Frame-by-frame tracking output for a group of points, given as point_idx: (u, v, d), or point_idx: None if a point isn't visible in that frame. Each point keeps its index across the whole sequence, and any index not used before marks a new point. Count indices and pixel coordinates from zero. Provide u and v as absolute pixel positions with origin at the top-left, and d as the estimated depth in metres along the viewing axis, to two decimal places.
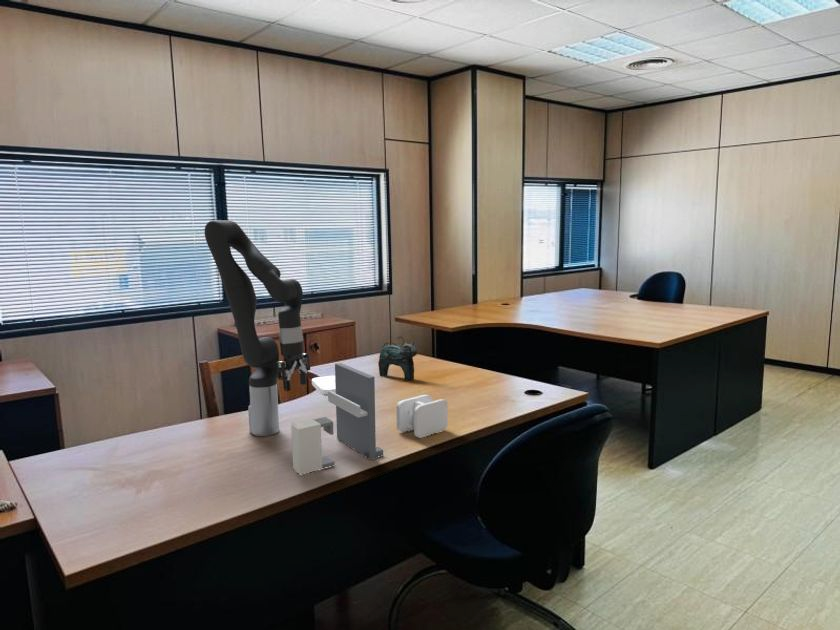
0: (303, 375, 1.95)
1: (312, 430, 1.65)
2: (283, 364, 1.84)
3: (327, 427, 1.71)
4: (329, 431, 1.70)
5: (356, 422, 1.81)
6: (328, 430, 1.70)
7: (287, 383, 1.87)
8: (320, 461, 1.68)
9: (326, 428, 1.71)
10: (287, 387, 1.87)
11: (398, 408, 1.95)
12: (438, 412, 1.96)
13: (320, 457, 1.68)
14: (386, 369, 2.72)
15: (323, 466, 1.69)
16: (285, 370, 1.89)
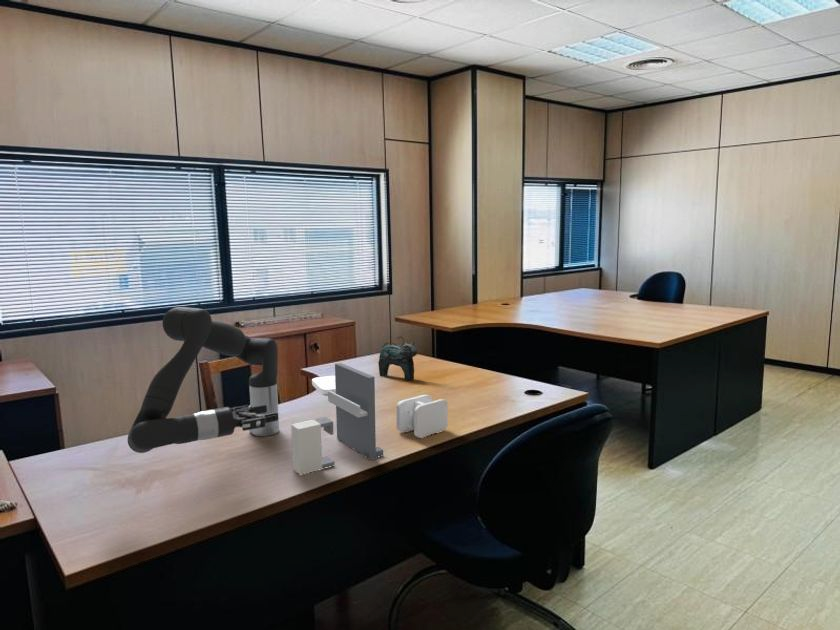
0: None
1: (312, 430, 1.65)
2: None
3: (327, 427, 1.71)
4: (329, 431, 1.70)
5: (356, 422, 1.81)
6: (328, 430, 1.70)
7: None
8: (320, 461, 1.68)
9: (326, 428, 1.71)
10: None
11: (398, 408, 1.95)
12: (438, 412, 1.96)
13: (320, 457, 1.68)
14: (386, 369, 2.72)
15: (323, 466, 1.69)
16: None
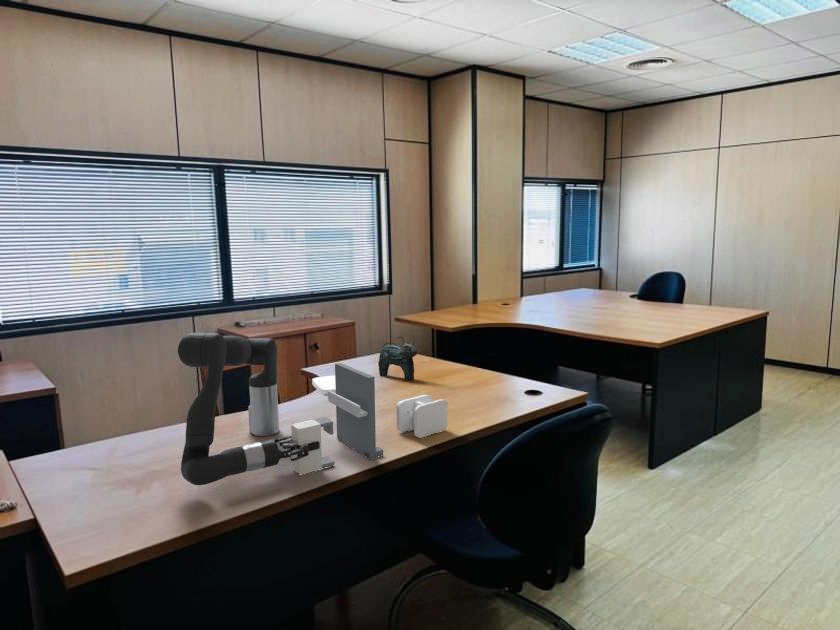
0: None
1: (312, 430, 1.65)
2: None
3: (327, 427, 1.71)
4: (329, 431, 1.70)
5: (356, 422, 1.81)
6: (328, 430, 1.70)
7: None
8: (320, 461, 1.68)
9: (326, 428, 1.71)
10: None
11: (398, 408, 1.95)
12: (438, 412, 1.96)
13: (320, 457, 1.68)
14: (386, 369, 2.72)
15: (323, 466, 1.69)
16: None
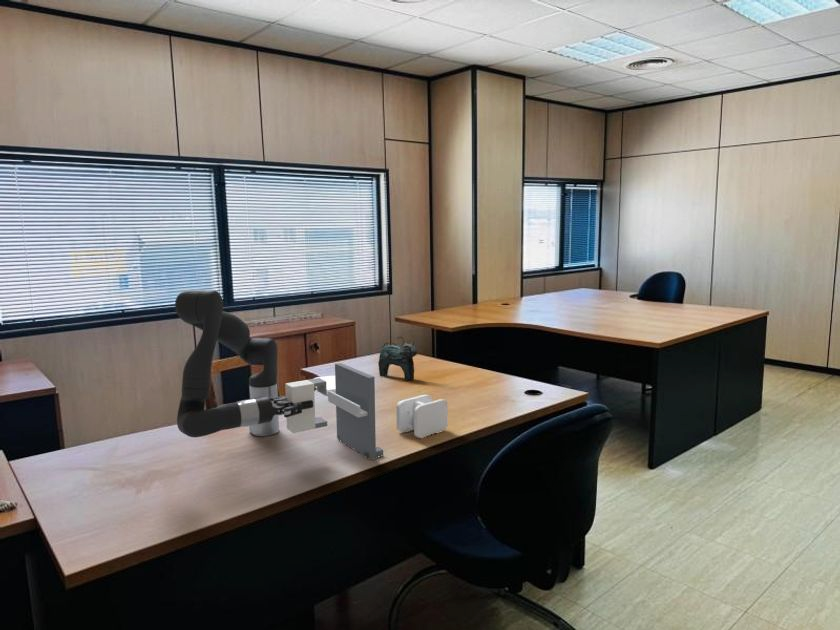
0: None
1: (306, 389, 1.69)
2: None
3: (320, 387, 1.74)
4: (322, 391, 1.73)
5: (356, 422, 1.81)
6: (322, 390, 1.74)
7: None
8: (313, 420, 1.72)
9: (320, 388, 1.75)
10: None
11: (398, 408, 1.95)
12: (438, 412, 1.96)
13: (313, 416, 1.72)
14: (386, 369, 2.72)
15: (316, 425, 1.73)
16: (283, 399, 1.70)
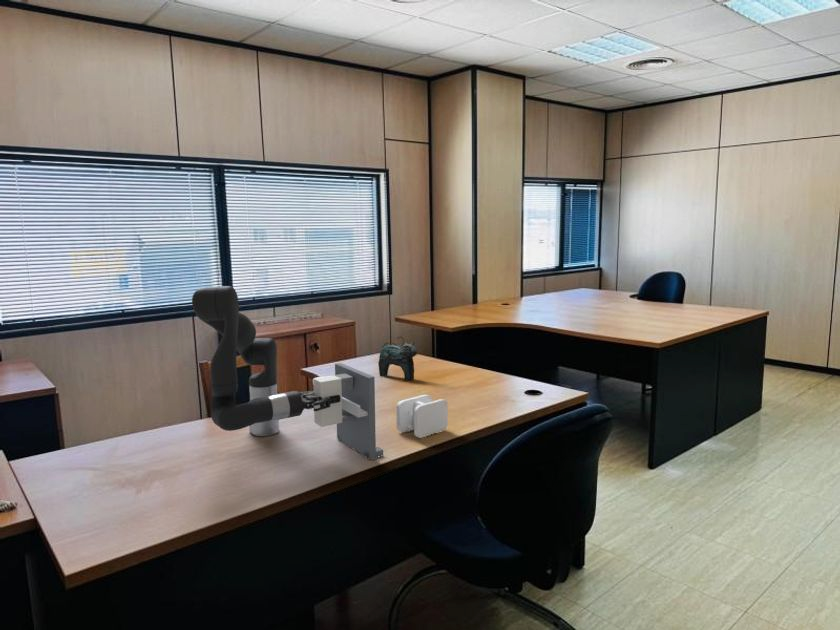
0: None
1: (334, 384, 1.74)
2: None
3: (347, 382, 1.79)
4: (349, 386, 1.79)
5: (356, 422, 1.81)
6: (348, 385, 1.79)
7: None
8: (340, 414, 1.77)
9: (346, 383, 1.80)
10: None
11: (398, 408, 1.96)
12: (438, 412, 1.96)
13: (340, 410, 1.77)
14: (386, 369, 2.72)
15: (343, 419, 1.78)
16: None
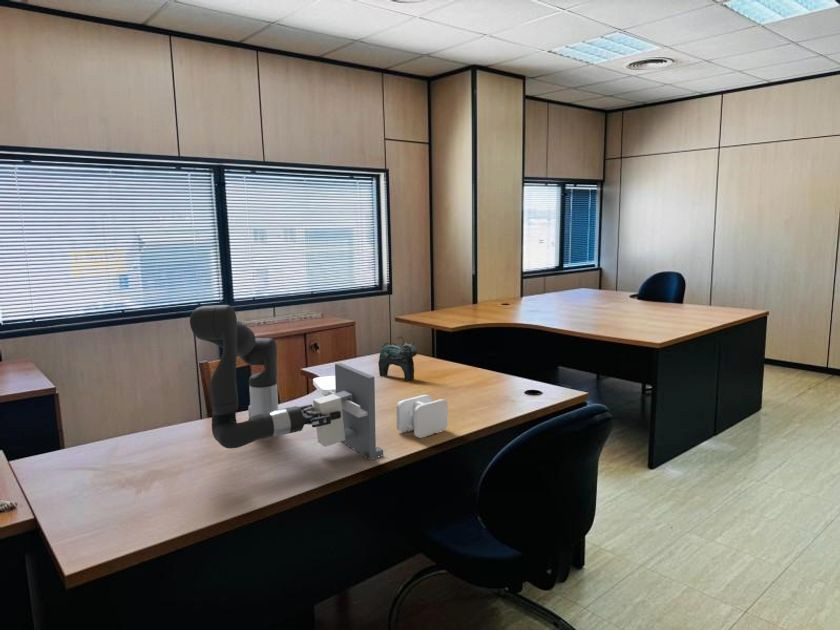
0: None
1: (333, 403, 1.75)
2: None
3: None
4: None
5: (356, 422, 1.81)
6: None
7: None
8: (343, 432, 1.78)
9: None
10: None
11: (398, 408, 1.96)
12: (438, 412, 1.96)
13: (342, 428, 1.78)
14: (386, 369, 2.72)
15: (346, 436, 1.79)
16: None
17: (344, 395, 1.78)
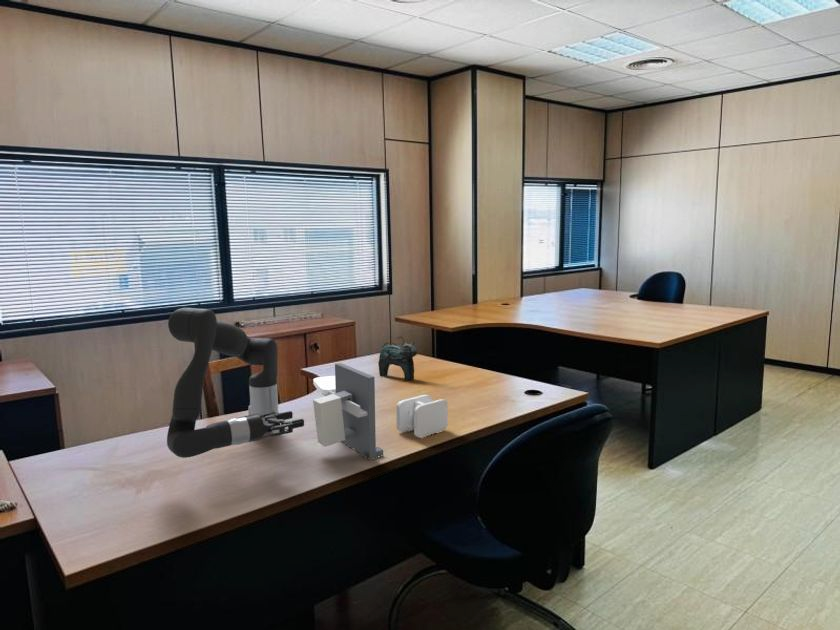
0: None
1: (333, 403, 1.75)
2: None
3: None
4: None
5: (356, 422, 1.81)
6: None
7: None
8: (343, 432, 1.78)
9: None
10: None
11: (398, 408, 1.95)
12: (438, 412, 1.96)
13: (342, 428, 1.78)
14: (386, 369, 2.72)
15: (346, 436, 1.79)
16: None
17: (344, 395, 1.78)
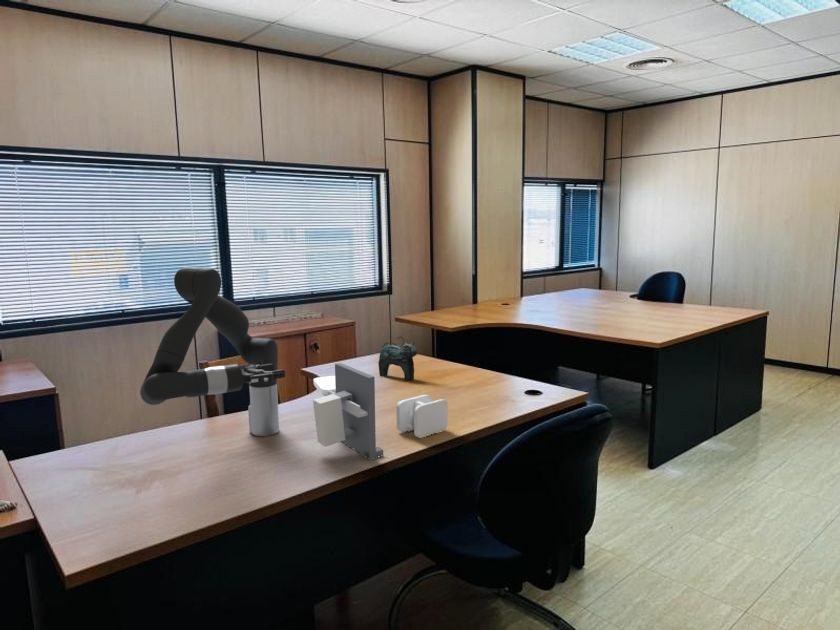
0: None
1: (333, 403, 1.75)
2: None
3: None
4: None
5: (356, 422, 1.81)
6: None
7: None
8: (343, 432, 1.78)
9: None
10: None
11: (398, 408, 1.95)
12: (438, 412, 1.96)
13: (342, 428, 1.78)
14: (386, 369, 2.72)
15: (346, 436, 1.79)
16: None
17: (344, 395, 1.78)
